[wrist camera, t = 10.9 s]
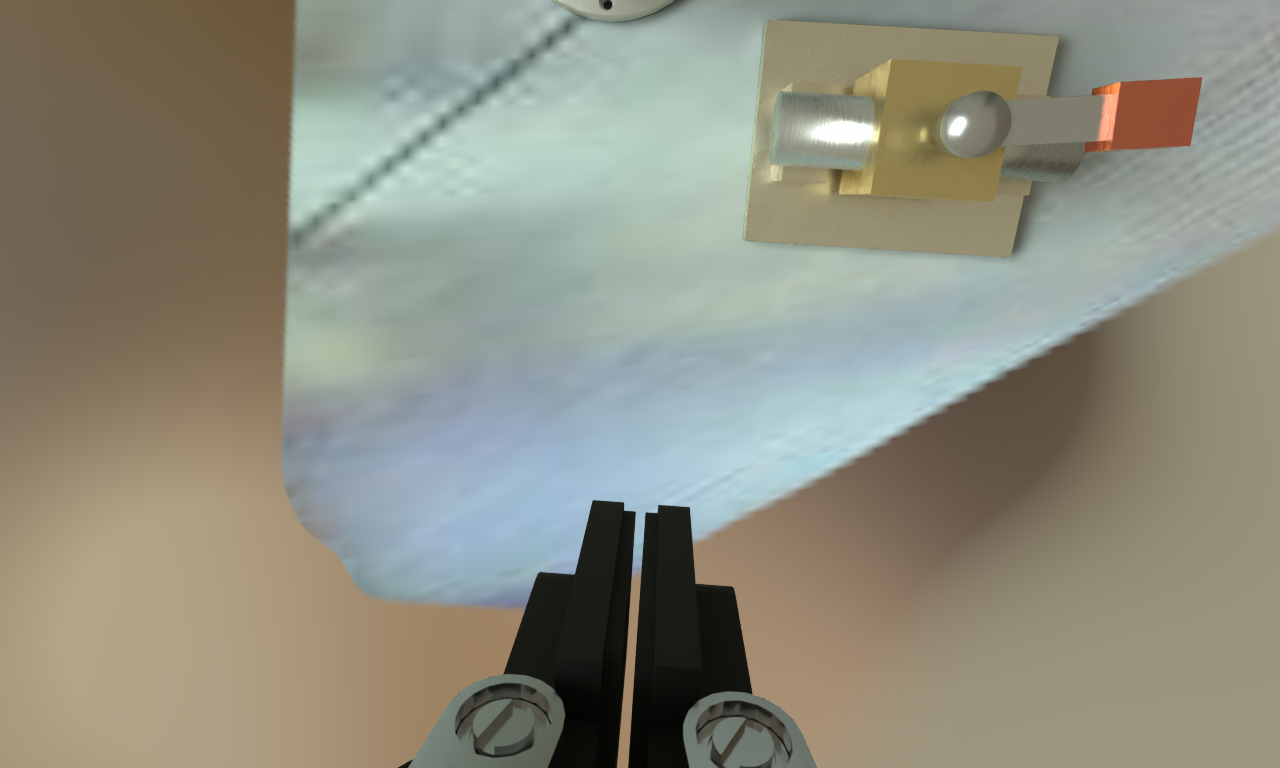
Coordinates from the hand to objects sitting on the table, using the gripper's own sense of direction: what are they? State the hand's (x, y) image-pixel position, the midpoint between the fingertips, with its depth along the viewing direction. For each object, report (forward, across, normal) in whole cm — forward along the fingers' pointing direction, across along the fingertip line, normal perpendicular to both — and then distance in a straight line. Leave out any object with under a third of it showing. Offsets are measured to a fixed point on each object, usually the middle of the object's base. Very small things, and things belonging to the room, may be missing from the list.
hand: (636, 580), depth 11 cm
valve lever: (+22, -17, -10) cm, 29 cm away
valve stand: (+32, -13, -10) cm, 36 cm away
